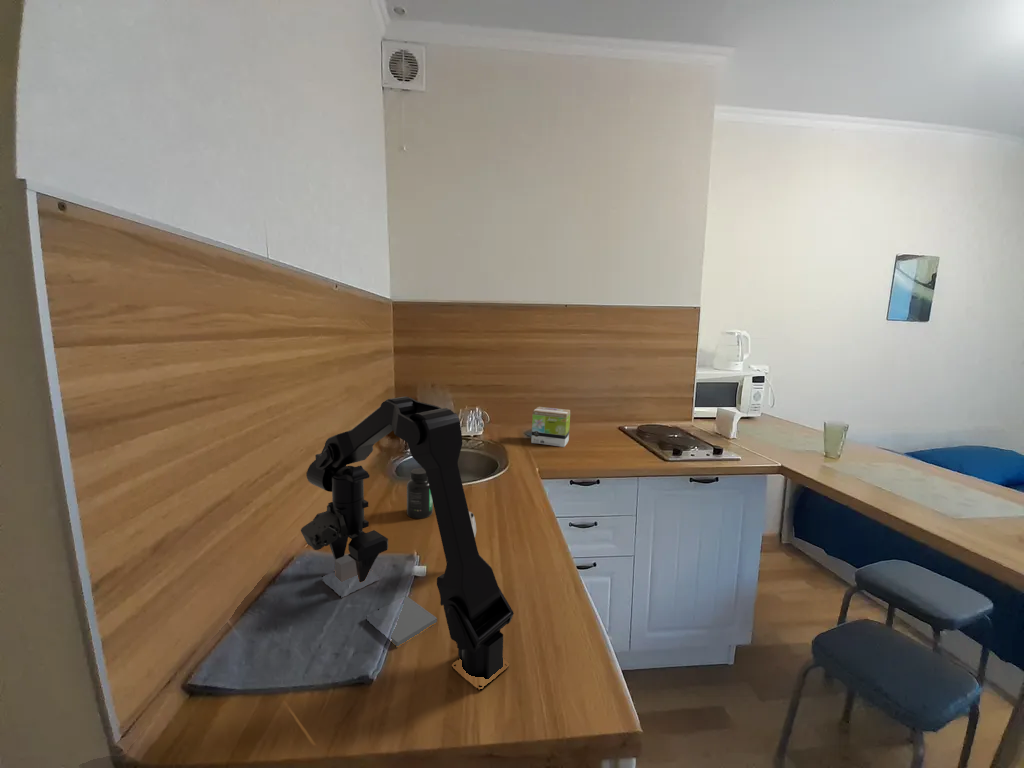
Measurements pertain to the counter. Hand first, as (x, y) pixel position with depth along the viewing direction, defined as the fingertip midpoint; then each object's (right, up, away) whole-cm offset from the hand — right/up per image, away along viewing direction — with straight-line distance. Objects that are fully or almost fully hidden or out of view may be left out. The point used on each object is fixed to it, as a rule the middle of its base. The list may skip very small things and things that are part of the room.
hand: (350, 572), depth 87 cm
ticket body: (+13, -4, -11) cm, 18 cm away
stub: (0, -2, 0) cm, 2 cm away
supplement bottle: (+7, +2, +32) cm, 33 cm away
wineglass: (+22, -2, +6) cm, 22 cm away
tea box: (+49, +12, +105) cm, 116 cm away
